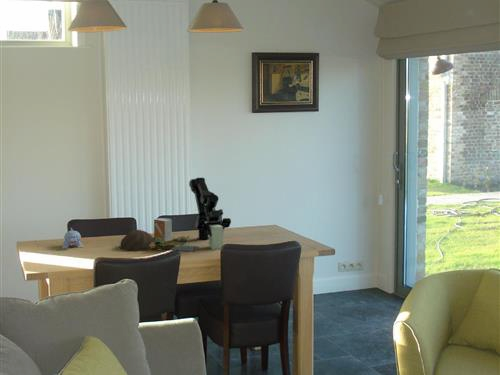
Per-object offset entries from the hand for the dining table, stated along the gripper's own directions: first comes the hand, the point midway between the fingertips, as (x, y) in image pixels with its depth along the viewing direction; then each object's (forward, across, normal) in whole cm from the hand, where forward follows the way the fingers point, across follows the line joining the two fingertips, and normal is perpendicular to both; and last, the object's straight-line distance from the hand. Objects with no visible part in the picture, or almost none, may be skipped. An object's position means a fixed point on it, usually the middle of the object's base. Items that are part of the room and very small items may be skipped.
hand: (216, 236), depth 398 cm
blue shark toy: (-14, -74, +24) cm, 79 cm away
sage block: (+4, 0, +6) cm, 7 cm away
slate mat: (+2, -17, +7) cm, 19 cm away
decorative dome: (-6, -40, +16) cm, 44 cm away
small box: (-13, -24, +23) cm, 36 cm away
